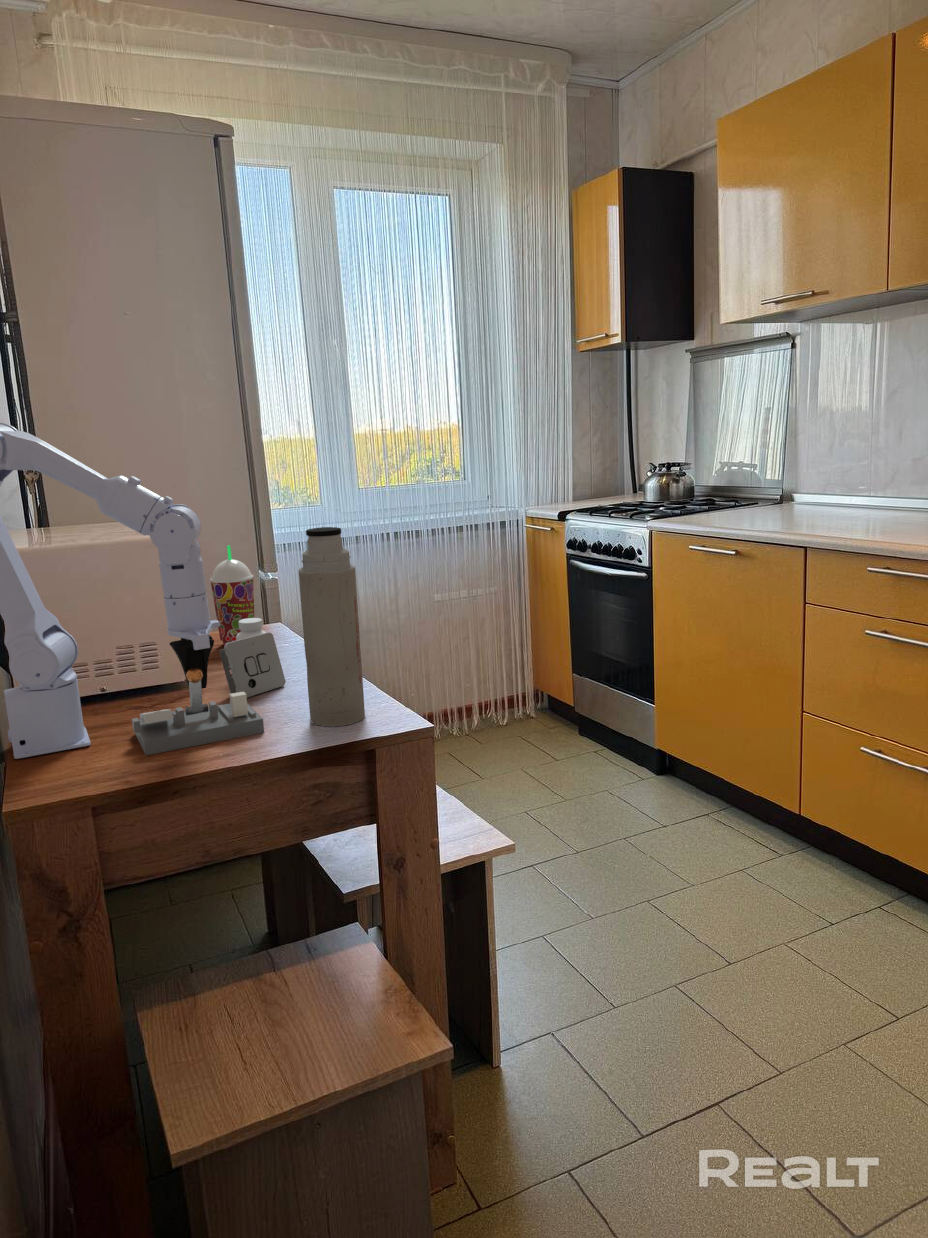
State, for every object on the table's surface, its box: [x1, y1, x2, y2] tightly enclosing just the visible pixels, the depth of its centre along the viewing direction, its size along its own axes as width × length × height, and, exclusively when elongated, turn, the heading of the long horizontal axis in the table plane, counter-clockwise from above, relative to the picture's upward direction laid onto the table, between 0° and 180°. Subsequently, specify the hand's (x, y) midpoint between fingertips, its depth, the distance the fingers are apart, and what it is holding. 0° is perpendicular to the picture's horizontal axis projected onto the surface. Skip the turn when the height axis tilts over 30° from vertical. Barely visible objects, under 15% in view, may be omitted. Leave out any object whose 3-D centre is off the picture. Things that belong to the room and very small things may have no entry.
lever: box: [184, 667, 209, 716], centre depth 122 cm, size 3×2×7 cm
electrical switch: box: [218, 631, 287, 699], centre depth 143 cm, size 9×5×9 cm, turn 141°
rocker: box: [139, 709, 173, 723], centre depth 121 cm, size 4×6×1 cm, turn 28°
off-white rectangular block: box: [229, 692, 248, 717], centre depth 124 cm, size 2×2×3 cm
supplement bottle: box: [236, 617, 267, 640], centre depth 152 cm, size 5×5×10 cm
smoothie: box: [209, 545, 256, 646], centre depth 173 cm, size 8×8×20 cm
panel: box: [131, 701, 265, 756], centre depth 123 cm, size 17×10×4 cm, turn 118°
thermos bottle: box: [298, 526, 366, 728], centre depth 125 cm, size 8×8×28 cm
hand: (198, 688), depth 123 cm, fingers closed, pressing on lever
